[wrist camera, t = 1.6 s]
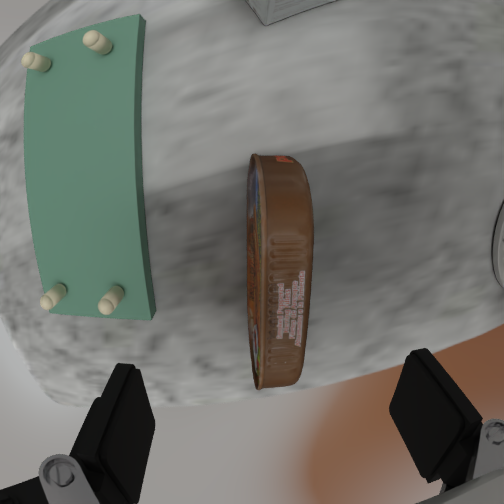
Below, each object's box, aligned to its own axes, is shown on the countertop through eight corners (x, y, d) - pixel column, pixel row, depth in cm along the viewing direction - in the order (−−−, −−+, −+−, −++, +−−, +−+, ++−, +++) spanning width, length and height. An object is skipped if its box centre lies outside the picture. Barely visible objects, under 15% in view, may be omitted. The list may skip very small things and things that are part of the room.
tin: (246, 153, 21) (247, 153, 13) (292, 154, 21) (321, 155, 13) (247, 342, 25) (248, 416, 17) (284, 341, 25) (299, 414, 17)
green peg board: (145, 21, 17) (124, -4, 12) (156, 311, 24) (139, 343, 20) (39, 50, 17) (7, 38, 12) (57, 305, 24) (31, 331, 19)
